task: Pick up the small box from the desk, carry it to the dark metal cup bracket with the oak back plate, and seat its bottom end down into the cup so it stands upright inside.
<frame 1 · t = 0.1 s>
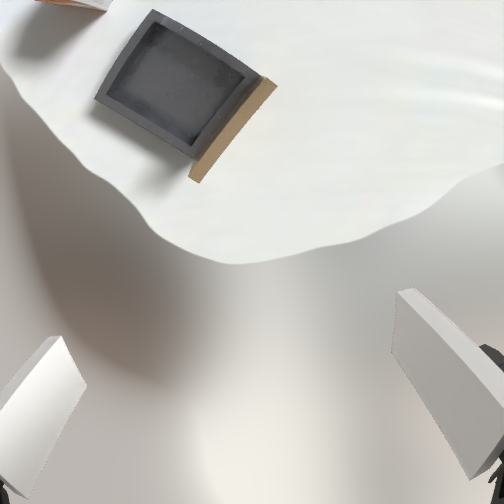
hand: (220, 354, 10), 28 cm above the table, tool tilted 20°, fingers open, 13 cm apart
cup bracket: (178, 80, 28), on the table
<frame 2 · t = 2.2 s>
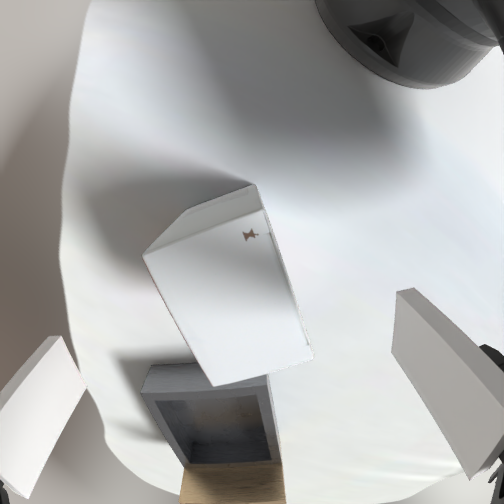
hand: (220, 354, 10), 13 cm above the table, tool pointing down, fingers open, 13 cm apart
cup bracket: (220, 407, 28), on the table
small box: (239, 244, 23), on the table
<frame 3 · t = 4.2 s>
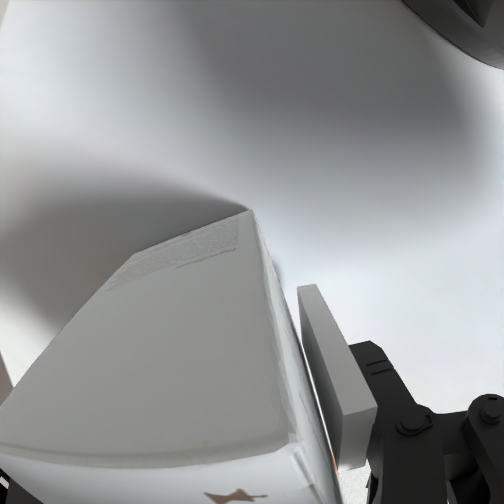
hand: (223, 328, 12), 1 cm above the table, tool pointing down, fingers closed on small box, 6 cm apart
small box: (225, 309, 13), on the table, touching gripper
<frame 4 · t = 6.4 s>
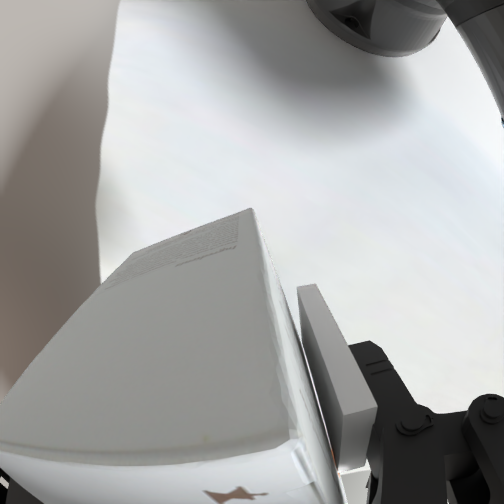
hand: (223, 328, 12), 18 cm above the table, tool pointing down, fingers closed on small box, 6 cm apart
small box: (225, 308, 13), point 16 cm above the table, touching gripper
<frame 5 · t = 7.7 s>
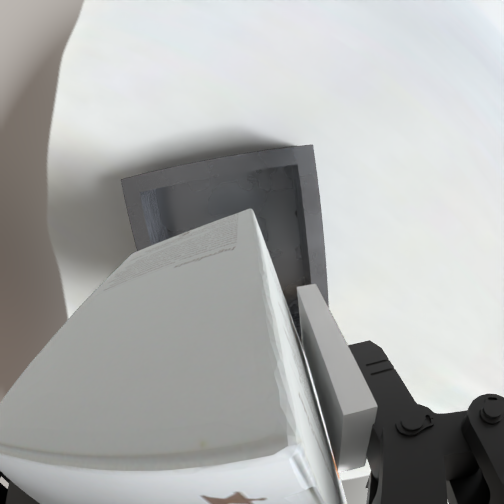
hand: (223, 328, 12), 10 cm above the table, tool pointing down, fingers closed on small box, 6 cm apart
cup bracket: (235, 250, 21), on the table
small box: (225, 308, 13), point 8 cm above the table, touching gripper
when the fingers open (5 cm above the table, at t = 8.9 s): small box drops 3 cm, resting on cup bracket.
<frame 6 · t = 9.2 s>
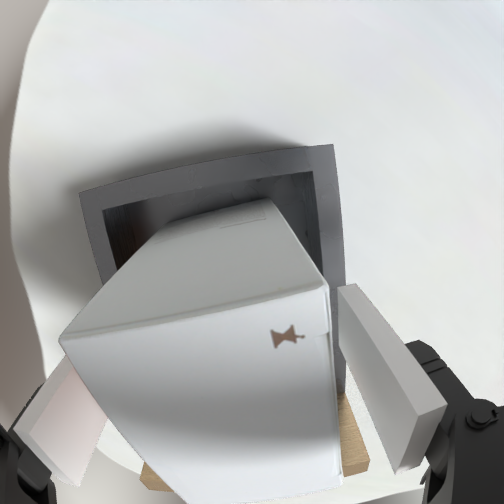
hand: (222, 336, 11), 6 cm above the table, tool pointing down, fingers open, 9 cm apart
cup bracket: (229, 277, 17), on the table
small box: (236, 279, 16), point 1 cm above the table, touching cup bracket
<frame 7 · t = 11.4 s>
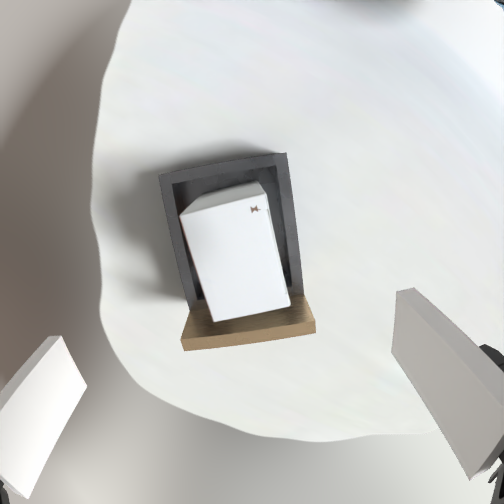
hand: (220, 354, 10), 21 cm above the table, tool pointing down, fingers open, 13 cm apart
cup bracket: (235, 226, 30), on the table
small box: (239, 225, 29), point 1 cm above the table, touching cup bracket
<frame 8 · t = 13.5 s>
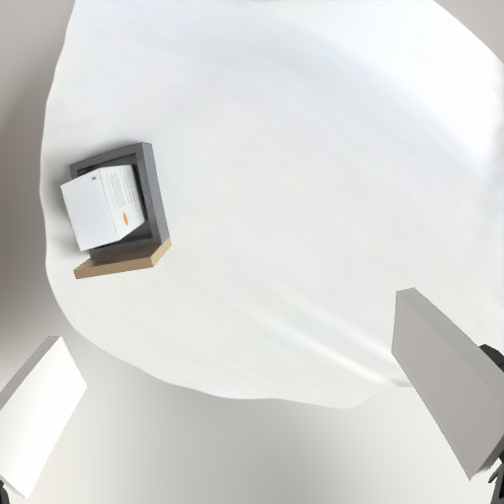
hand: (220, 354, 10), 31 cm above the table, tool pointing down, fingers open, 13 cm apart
cup bracket: (124, 198, 38), on the table
small box: (124, 197, 38), point 1 cm above the table, touching cup bracket
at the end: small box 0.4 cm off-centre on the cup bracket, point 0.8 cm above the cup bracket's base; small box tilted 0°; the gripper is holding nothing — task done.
